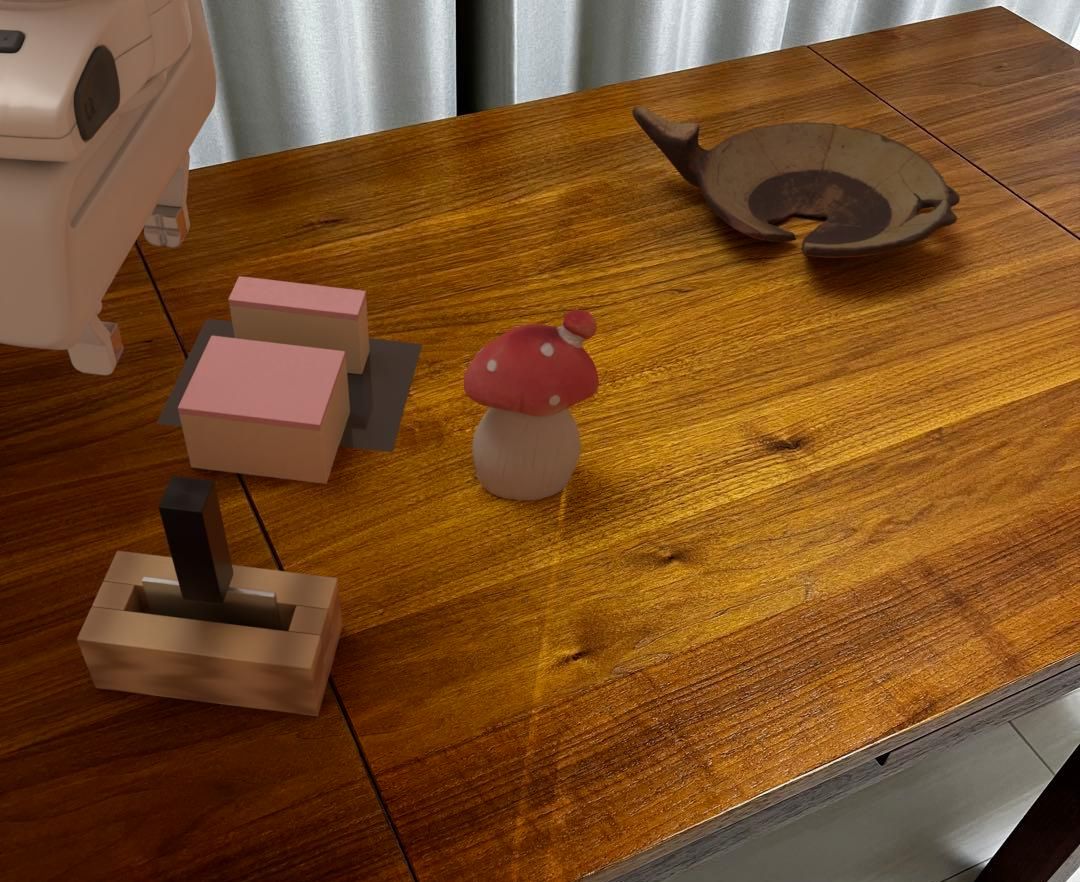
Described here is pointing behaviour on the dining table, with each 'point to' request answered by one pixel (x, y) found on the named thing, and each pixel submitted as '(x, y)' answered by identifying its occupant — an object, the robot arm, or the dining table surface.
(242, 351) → the cake
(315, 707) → the knife block
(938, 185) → the broken brown bowl
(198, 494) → the knife
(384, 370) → the cake board
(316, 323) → the cake slice
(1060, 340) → the dining table surface
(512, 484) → the decorative ornament
